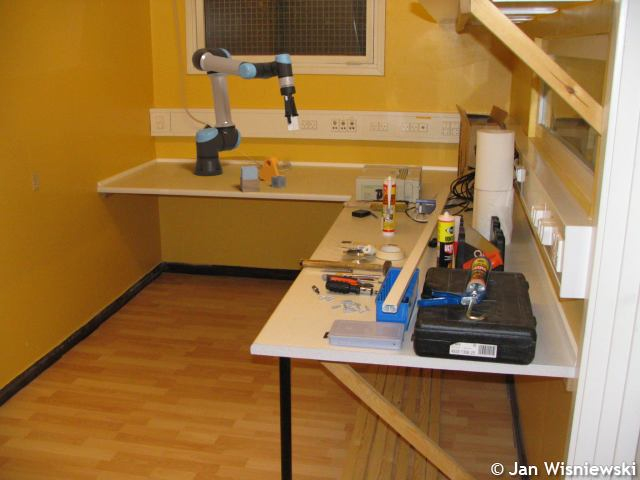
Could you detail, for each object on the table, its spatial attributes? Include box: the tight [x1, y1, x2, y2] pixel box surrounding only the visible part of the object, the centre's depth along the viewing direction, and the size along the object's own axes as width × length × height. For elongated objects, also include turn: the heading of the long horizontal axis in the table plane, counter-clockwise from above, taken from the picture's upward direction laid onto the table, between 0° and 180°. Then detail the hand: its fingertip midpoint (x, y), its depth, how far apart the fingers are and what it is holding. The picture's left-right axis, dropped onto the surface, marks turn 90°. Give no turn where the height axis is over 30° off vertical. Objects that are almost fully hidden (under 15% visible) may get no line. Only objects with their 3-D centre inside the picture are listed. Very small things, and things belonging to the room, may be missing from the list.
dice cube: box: [270, 174, 287, 189], centre depth 328 cm, size 5×5×5 cm
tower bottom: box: [239, 176, 261, 193], centre depth 321 cm, size 8×8×6 cm
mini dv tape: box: [414, 198, 437, 215], centre depth 277 cm, size 8×2×6 cm, turn 78°
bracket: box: [259, 156, 286, 183], centre depth 342 cm, size 11×7×12 cm, turn 57°
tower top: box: [240, 165, 259, 180], centre depth 319 cm, size 7×7×5 cm
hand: (294, 130), depth 334 cm, fingers open, 13 cm apart
